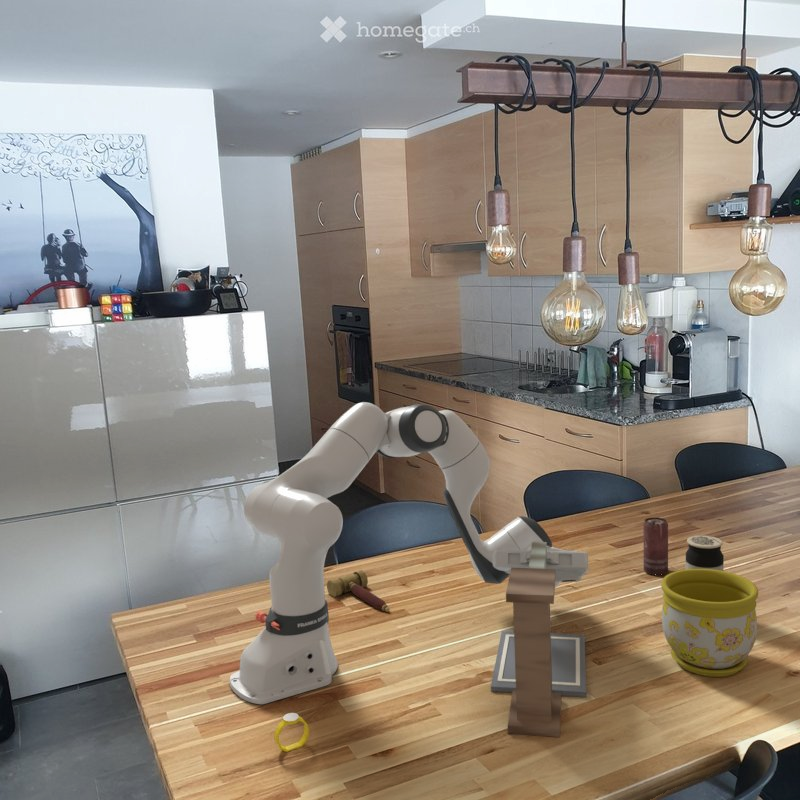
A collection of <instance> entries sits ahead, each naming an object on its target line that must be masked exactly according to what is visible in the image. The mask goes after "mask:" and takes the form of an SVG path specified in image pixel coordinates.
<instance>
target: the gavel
mask: <svg viewBox="0 0 800 800" xmlns="http://www.w3.org/2000/svg"><path fill="white" fill-rule="evenodd" d="M368 584H369V583H368V576H367V574H366V572H365V571H364V570H363V569H360V570H356V571H354V572H353V573H352V574H348V575H345V576H340V577H339V578H337V577H334V578H332V579H328V580H327V582H326V590H327V592H328V594H329V595H330V596H331V597H334V598H335V597H340V596H341V595H342V594H346V593H348V592H352V593H353V594H354V596H357V597H358V598H360V600H362V601H364V602H366V603H367V604H368V605H370V606H372V607H373V608H375V609H376V610H378V611H382V612H390V607H388V604H386V601H384V599H381V598H380V597H379V596H377V595H375V594H374V593H372V592H371V591H369V590H368V589H366V587H367V586H368Z"/></svg>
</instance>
